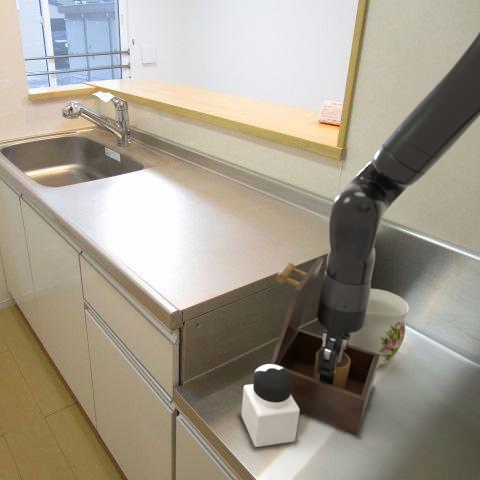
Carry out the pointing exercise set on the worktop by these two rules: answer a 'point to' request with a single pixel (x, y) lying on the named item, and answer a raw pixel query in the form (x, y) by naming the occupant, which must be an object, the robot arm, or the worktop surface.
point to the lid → (295, 302)
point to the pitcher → (382, 325)
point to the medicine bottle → (270, 407)
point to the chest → (325, 395)
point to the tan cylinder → (341, 371)
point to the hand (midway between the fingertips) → (329, 376)
